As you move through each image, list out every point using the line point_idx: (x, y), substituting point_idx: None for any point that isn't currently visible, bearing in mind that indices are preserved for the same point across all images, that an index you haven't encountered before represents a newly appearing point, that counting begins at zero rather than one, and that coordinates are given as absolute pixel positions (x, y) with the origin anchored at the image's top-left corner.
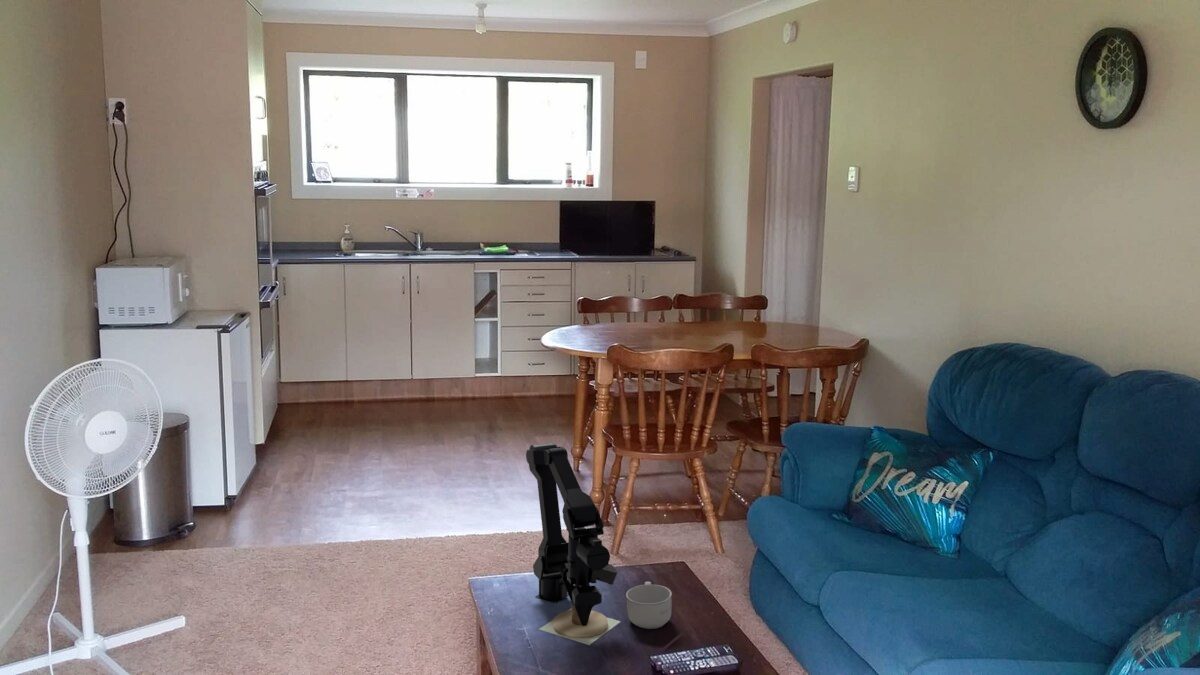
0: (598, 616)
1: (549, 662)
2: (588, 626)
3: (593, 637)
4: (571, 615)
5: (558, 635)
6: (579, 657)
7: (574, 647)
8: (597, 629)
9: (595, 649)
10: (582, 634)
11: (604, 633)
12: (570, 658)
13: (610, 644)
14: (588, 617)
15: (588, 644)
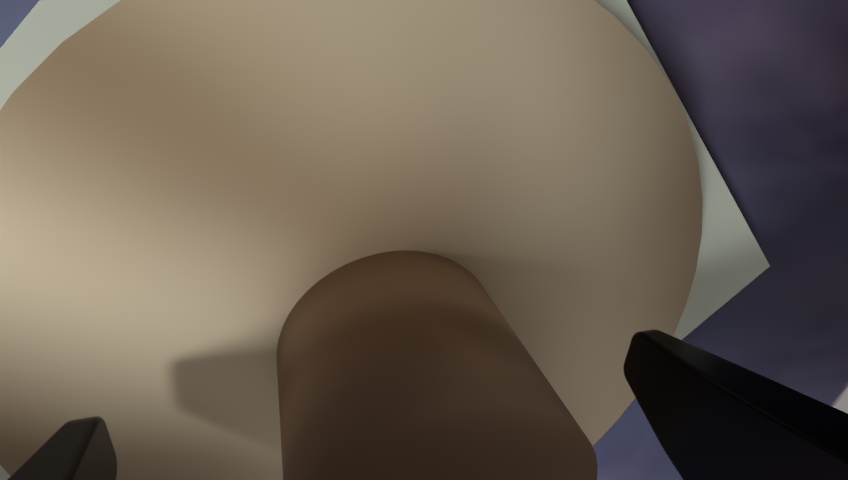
0: (273, 75)
1: None
2: (548, 267)
3: None
4: (194, 438)
5: None
6: (819, 327)
7: None
8: (661, 175)
9: (803, 208)
10: (668, 332)
11: (664, 72)
12: (794, 377)
13: (818, 47)
14: (800, 401)
15: (763, 270)
